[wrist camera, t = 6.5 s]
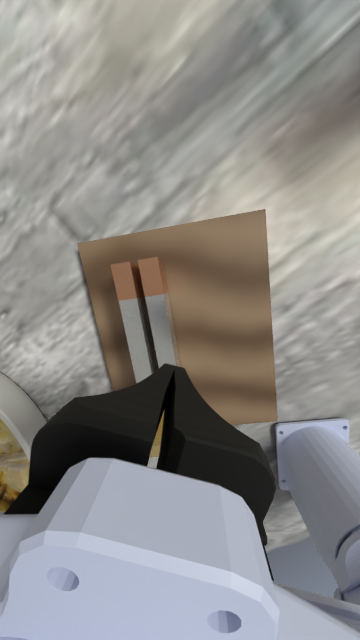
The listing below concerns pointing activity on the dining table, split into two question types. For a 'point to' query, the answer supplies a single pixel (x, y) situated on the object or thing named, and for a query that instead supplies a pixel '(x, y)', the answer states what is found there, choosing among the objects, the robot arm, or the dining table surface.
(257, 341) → the walnut board
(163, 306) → the hinged tong arm
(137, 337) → the fixed tong arm
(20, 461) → the bowl
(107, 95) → the dining table surface
